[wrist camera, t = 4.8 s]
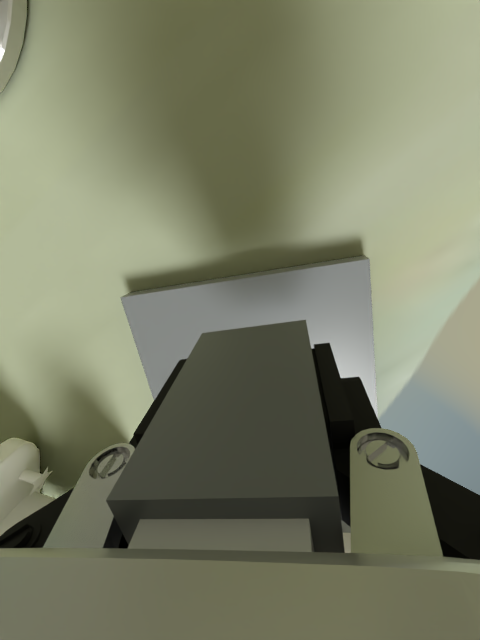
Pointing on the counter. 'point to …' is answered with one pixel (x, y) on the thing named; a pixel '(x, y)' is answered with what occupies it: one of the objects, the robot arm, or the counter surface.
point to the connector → (235, 452)
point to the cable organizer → (20, 482)
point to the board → (261, 317)
